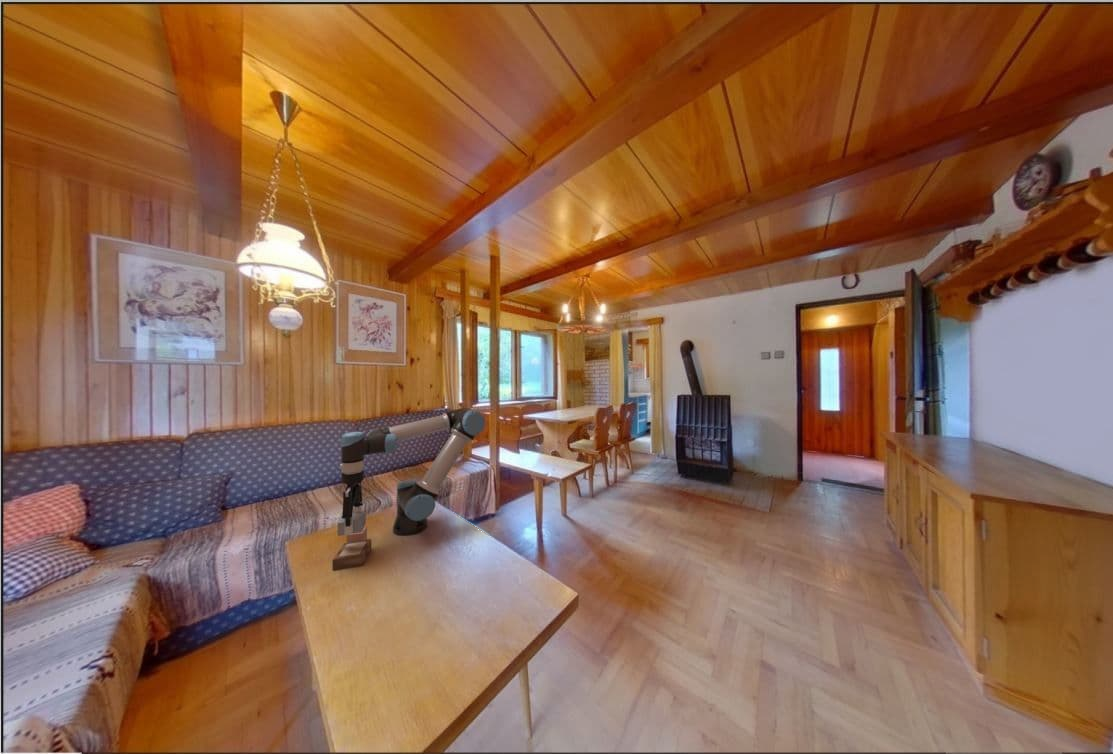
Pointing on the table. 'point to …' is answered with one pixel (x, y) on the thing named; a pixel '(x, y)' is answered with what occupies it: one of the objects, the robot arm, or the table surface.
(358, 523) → the slate block
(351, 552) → the plinth
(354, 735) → the table surface
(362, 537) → the terracotta cube
